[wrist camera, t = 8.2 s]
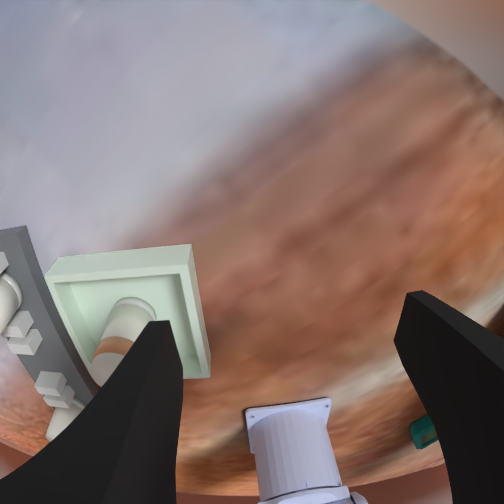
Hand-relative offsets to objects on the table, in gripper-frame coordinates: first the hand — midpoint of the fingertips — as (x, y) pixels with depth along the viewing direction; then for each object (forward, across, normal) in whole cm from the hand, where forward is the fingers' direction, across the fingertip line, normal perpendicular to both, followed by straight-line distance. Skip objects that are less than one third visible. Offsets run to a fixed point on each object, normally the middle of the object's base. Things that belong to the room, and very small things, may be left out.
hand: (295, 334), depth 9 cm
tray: (+10, +8, +6) cm, 14 cm away
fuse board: (+10, +18, +10) cm, 23 cm away
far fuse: (+9, +18, +16) cm, 26 cm away
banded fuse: (+9, +8, +6) cm, 14 cm away
